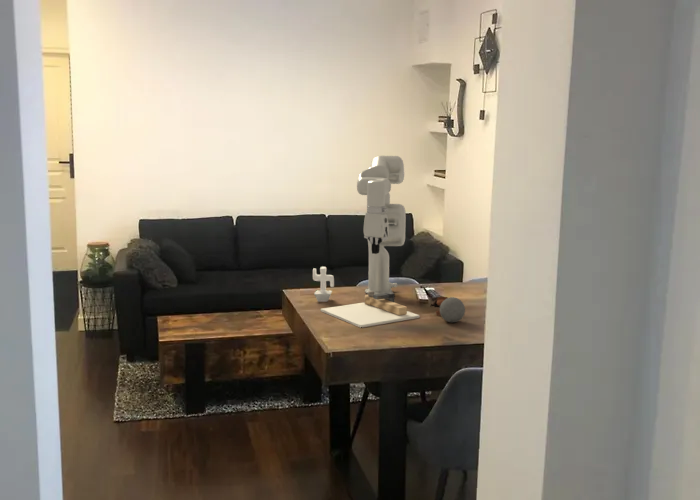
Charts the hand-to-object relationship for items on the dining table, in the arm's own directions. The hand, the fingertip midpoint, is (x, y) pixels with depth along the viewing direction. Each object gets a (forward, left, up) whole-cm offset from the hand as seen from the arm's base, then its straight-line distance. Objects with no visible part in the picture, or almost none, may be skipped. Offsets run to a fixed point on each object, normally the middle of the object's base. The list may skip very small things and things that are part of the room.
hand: (375, 253), depth 318 cm
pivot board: (+7, +6, -24) cm, 26 cm away
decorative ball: (-14, +33, -24) cm, 44 cm away
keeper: (-2, +3, -23) cm, 24 cm away
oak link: (-1, +5, -23) cm, 23 cm away
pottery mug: (-20, +21, -25) cm, 38 cm away
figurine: (+11, -25, -24) cm, 36 cm away
